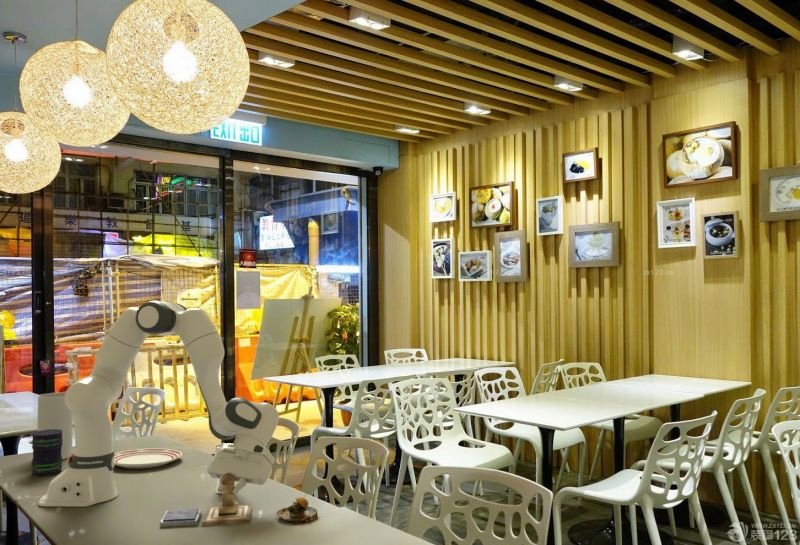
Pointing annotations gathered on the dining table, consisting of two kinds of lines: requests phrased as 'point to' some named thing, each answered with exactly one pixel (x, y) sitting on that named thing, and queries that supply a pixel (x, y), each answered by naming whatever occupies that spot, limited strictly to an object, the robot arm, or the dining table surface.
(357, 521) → the dining table surface
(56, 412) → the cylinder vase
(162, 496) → the dining table surface
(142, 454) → the dinner plate
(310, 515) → the plate of salad
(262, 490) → the dining table surface
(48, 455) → the storage jar
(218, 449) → the beer glass
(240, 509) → the board
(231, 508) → the stamp
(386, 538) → the dining table surface
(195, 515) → the ink pad
